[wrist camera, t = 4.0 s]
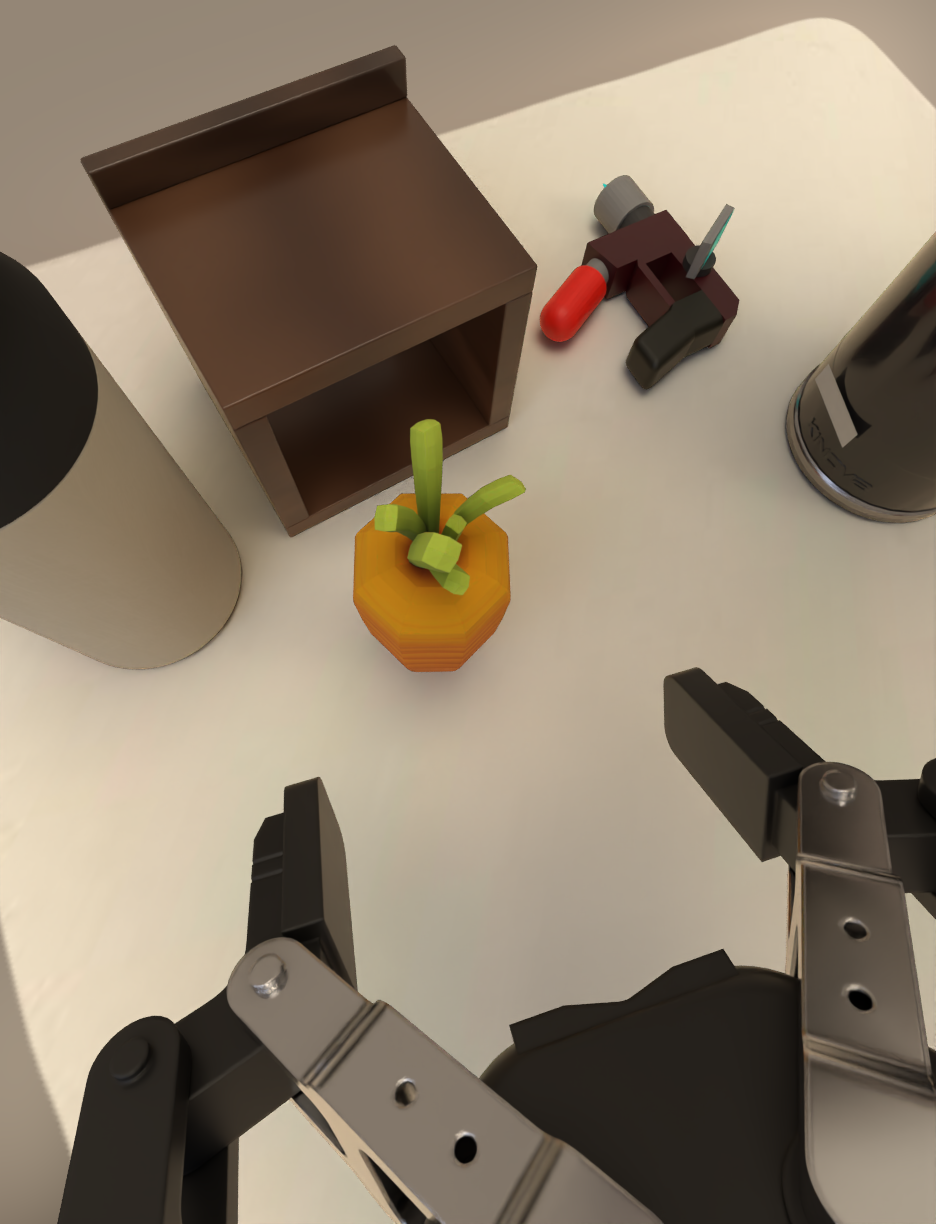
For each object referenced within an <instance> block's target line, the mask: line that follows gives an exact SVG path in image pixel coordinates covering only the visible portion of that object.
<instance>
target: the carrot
mask: <svg viewBox="0 0 936 1224" xmlns="http://www.w3.org/2000/svg"><path fill="white" fill-rule="evenodd" d="M410 446H411V457H412V467H413V476H414V485H415V494H400V495H399V496H398V497H397V498H396V499H395V500H394V501H392V502H391V503H390V504H387V505H379V506H377V509H376V513H375V517H374V518H373V519H372V520H371V521H370V522H369V523H368V524H367V525H365V526H364V527H363V528H362V529H361V530H360V531H359V532H358V533H357V534H356V536H355V557H354V590H353V600H354V604H355V606H356V608H357V610H358V612H359V614H360V616H361V618H362V620H363V621H364V623H365V625H366V626H367V628H368V629H369V631H370V633H371V634H372V635H373V636H374V637H375V638H376V639H377V640H378V641H379V642H380V643H381V644H382V645H383V646H384V647H385V648H387V649H388V650H389V651H390V652H391V653H392V654H393V655H394V656H395V657H396V658H397V659H398V660H399V661H400V662H401V663H402V664H403V665H404V666H405V667H406V668H407V669H409V670H411V671H414V672H442V671H456V670H457V669H459V668H460V667H461V666H462V665H463V664H464V663H465V662H466V661H467V660H468V659H469V658H470V657H471V656H472V655H473V654H474V653H475V652H476V651H477V650H478V649H479V648H480V647H481V646H482V645H483V644H484V643H485V642H486V641H487V640H488V639H489V638H490V636H491V635H492V634H493V633H494V632H495V631H496V629H497V627H498V625H499V624H500V622H501V620H502V618H503V616H504V614H505V612H506V609H507V607H508V605H509V603H510V574H509V552H508V536H507V534H506V532H504V531H503V530H502V529H501V528H500V527H499V526H498V525H497V524H495V523H494V522H493V521H492V520H491V519H490V518H489V517H487V516H486V515H485V514H484V513H485V512H487V511H488V510H490V509H492V508H493V507H495V506H498V505H500V504H502V503H504V502H506V501H509V500H511V499H513V498H515V497H517V496H519V495H521V494H523V493H525V490H526V488H525V487H524V485H523V484H522V482H521V481H519V480H518V479H516V478H515V477H513V476H512V475H508V476H505V477H503V478H500V479H497V480H495V481H493V482H492V483H490V484H488V485H486V486H484V487H482V488H481V489H479V490H478V491H477V492H476V493H474V494H473V495H472V496H471V497H469V498H468V499H467V498H466V497H465V496H464V495H463V494H441V485H442V464H443V451H442V432H441V425H440V423H439V422H437V421H436V420H433V419H426V420H423V421H420V422H418V423H416V424H415V425H414V426H413V427H411V428H410Z"/></svg>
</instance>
